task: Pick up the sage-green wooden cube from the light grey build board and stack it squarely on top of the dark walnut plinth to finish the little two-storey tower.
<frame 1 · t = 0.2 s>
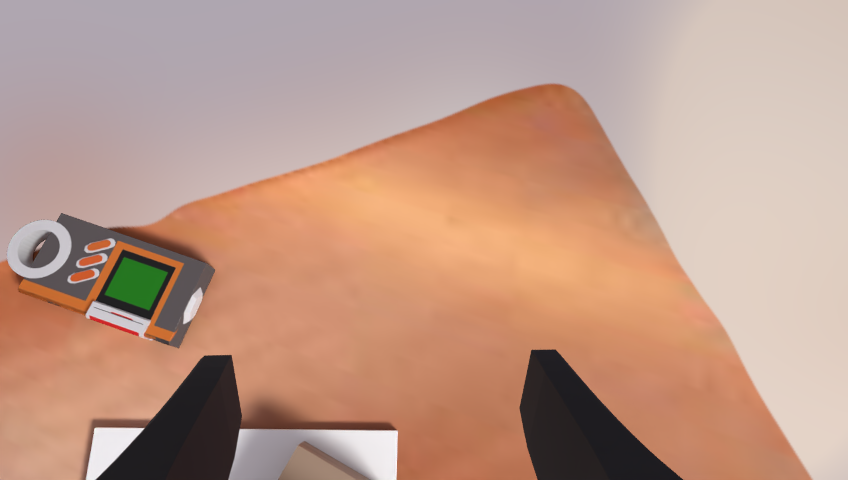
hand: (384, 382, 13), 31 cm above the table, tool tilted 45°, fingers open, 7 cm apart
electronic device: (116, 279, 44), on the table
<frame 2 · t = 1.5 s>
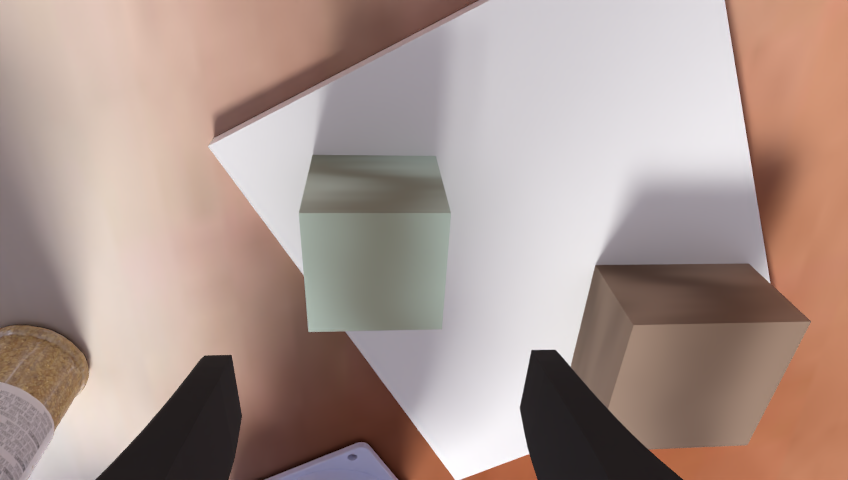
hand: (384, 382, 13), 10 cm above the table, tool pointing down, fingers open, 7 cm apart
sage cube: (374, 209, 21), point 1 cm above the table, touching build board
sprinkles bottle: (41, 356, 25), on the table
build board: (539, 260, 24), on the table
walnut plinth: (652, 326, 26), resting on build board
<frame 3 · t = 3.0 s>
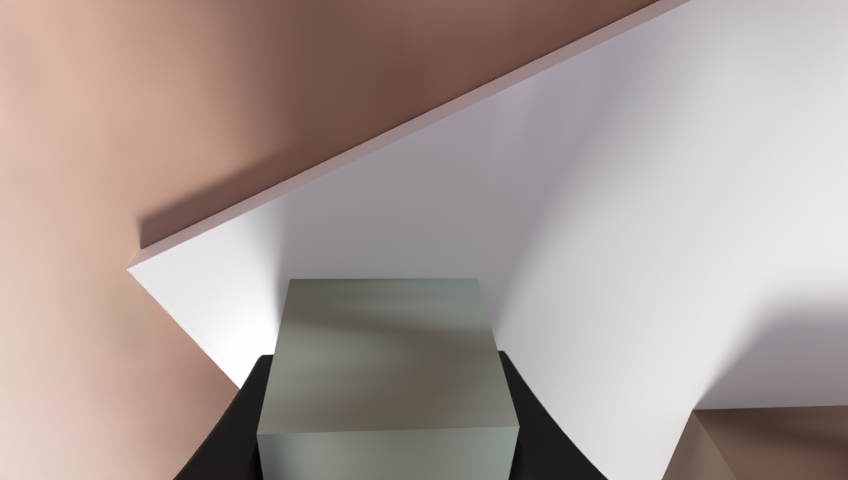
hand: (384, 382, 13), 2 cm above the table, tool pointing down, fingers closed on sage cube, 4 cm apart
sage cube: (383, 348, 14), point 1 cm above the table, touching build board, gripper
build board: (611, 398, 17), on the table
walnut plinth: (757, 477, 19), resting on build board
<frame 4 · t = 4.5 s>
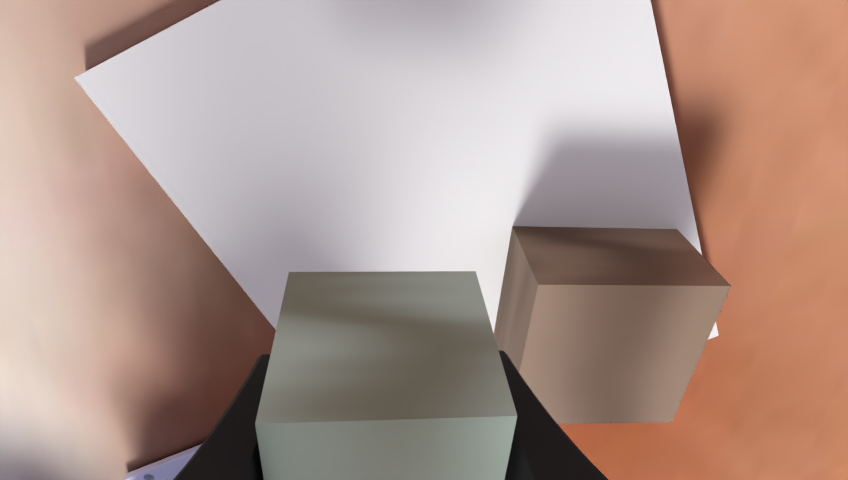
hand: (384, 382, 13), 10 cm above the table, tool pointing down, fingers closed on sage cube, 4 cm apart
sage cube: (382, 342, 14), point 9 cm above the table, touching gripper
build board: (455, 221, 23), on the table
walnut plinth: (577, 296, 24), resting on build board
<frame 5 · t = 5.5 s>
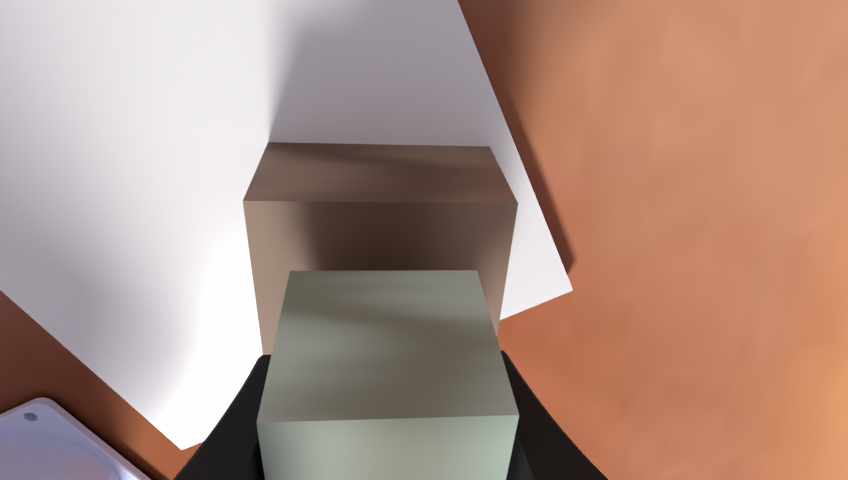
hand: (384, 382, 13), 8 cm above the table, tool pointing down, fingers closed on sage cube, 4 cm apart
sage cube: (383, 341, 14), point 6 cm above the table, touching gripper
build board: (203, 140, 18), on the table
walnut plinth: (379, 239, 19), resting on build board
when the fingers open (7 cm above the table, at t = 6.0 s): sage cube drops 1 cm, resting on walnut plinth.
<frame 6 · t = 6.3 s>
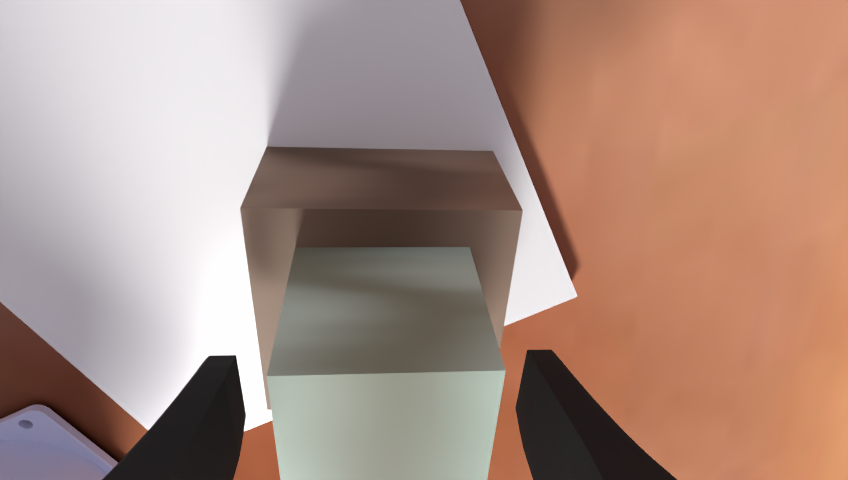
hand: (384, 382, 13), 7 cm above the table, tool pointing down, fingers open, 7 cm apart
sage cube: (382, 315, 15), point 5 cm above the table, touching walnut plinth
build board: (201, 144, 17), on the table
walnut plinth: (380, 244, 19), resting on build board
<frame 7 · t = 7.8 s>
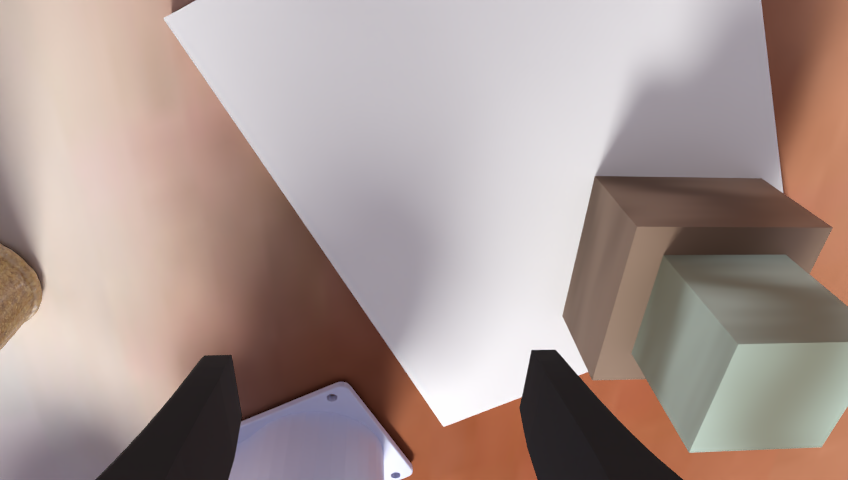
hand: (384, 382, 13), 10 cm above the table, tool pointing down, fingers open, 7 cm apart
sage cube: (704, 306, 20), point 5 cm above the table, touching walnut plinth
build board: (534, 173, 22), on the table
walnut plinth: (655, 251, 24), resting on build board
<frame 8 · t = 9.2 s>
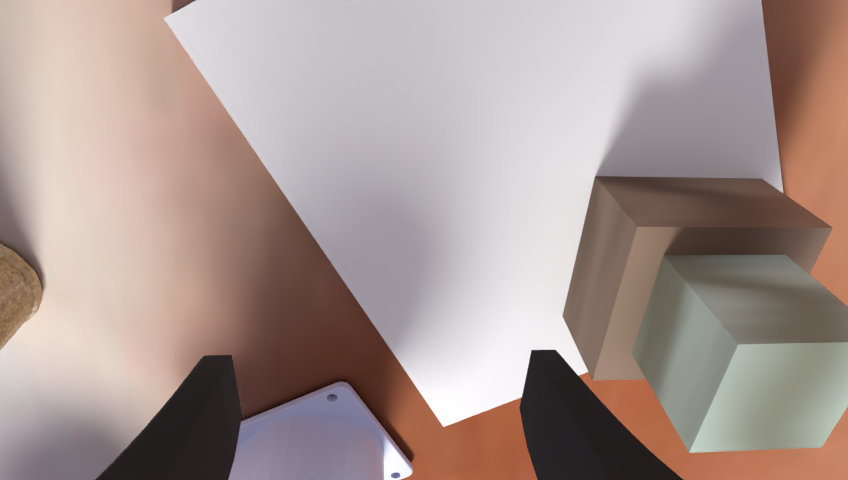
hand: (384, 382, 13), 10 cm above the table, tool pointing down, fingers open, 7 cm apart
sage cube: (705, 306, 20), point 5 cm above the table, touching walnut plinth
build board: (534, 173, 22), on the table
walnut plinth: (655, 251, 24), resting on build board
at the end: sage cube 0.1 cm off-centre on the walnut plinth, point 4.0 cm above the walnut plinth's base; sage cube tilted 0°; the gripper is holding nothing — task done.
